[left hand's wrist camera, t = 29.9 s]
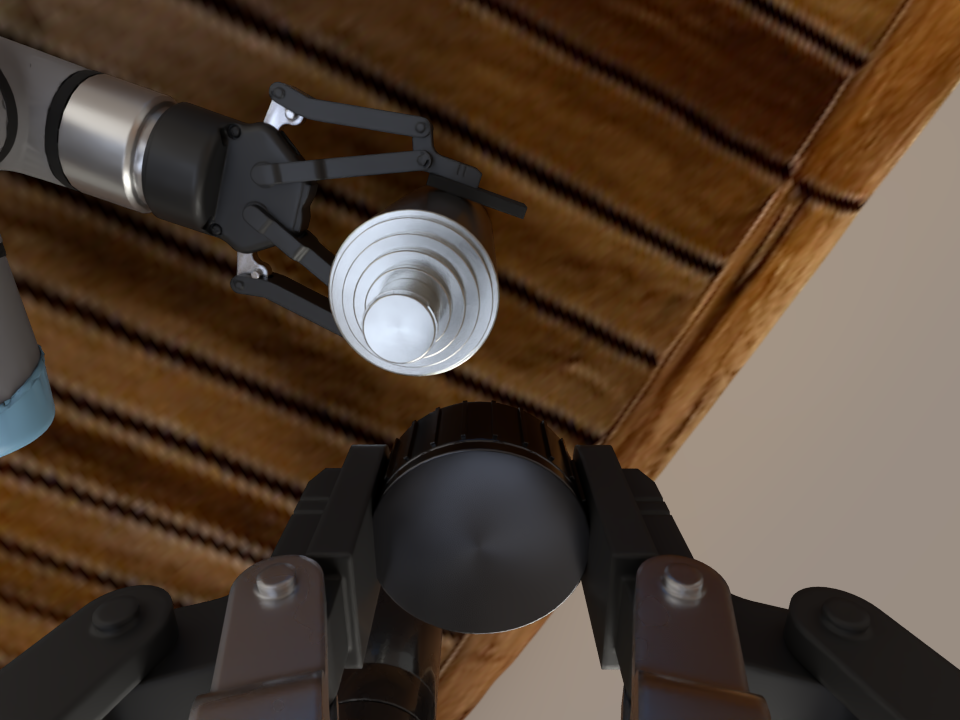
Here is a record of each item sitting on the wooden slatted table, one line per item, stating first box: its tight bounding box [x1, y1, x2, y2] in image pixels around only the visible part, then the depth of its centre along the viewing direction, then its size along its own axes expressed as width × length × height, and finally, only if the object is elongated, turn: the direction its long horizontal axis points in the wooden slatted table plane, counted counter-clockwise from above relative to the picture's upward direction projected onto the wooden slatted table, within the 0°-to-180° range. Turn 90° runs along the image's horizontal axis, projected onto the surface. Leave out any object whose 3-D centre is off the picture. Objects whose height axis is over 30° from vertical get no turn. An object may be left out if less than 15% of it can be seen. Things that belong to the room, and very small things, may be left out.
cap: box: [372, 401, 590, 634], centre depth 11 cm, size 4×4×2 cm
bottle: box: [328, 185, 500, 376], centre depth 34 cm, size 8×8×24 cm
